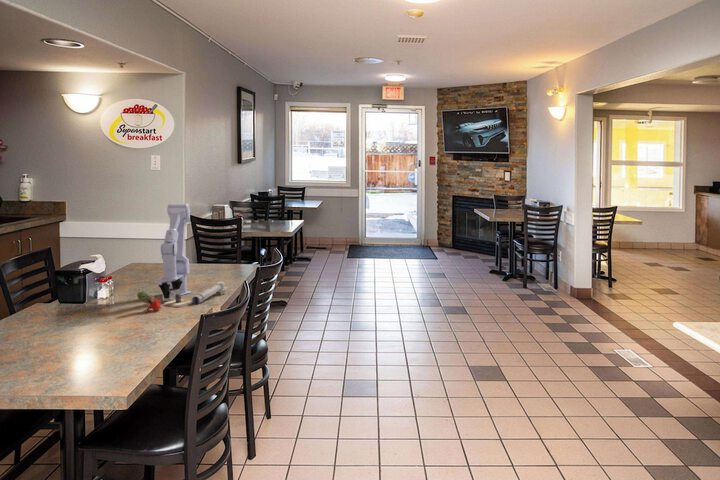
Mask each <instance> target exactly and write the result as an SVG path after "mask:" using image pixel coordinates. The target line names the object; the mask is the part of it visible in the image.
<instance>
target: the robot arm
mask: <svg viewBox="0 0 720 480" xmlns="http://www.w3.org/2000/svg"><path fill="white" fill-rule="evenodd" d="M167 215H168V217H169V228H168V229H167V230H166V231H165V235H164V241H163V243H161V245H160V254H161V259H162V265H163V266H162V268H163V270H162V271H163V277H162V278H160V279H157V280H156V285H158V287H159V289H160V290H161V293H163V296H164V298H165V299H168V298H169V288H175V289H179V294H181V296H184V295H187V294H190V293H192V291H190V290H188V284H187V283H188V281H187V279H188V278H187V276H188V275H189V273H190V270H191V267H190V259H189V258H188V257H187V256H185V244H186V243H185V242H186V226H187V223H188V222H190V219H191V206H190V204H189V203H168V205H167Z"/></svg>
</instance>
